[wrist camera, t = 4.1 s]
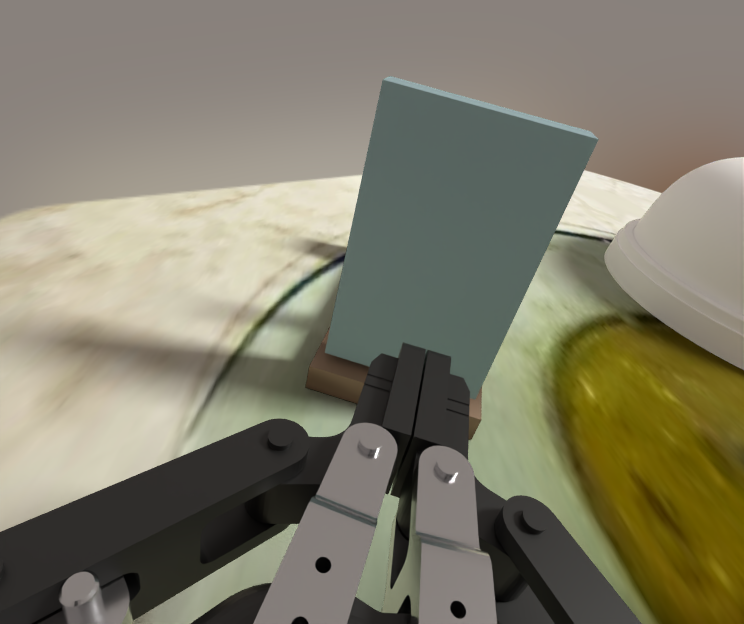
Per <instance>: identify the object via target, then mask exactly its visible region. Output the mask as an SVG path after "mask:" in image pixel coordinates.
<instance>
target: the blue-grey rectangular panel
mask: <svg viewBox="0 0 744 624" xmlns="http://www.w3.org/2000/svg"><path fill="white" fill-rule="evenodd" d="M597 141H598V138H597V137H596V136H595V135H593V134H592V132H590V131H587V130H583V129H580V128H576V127H572V126H569V125H565V124H561V123H558V122H554V121H551V120H547V119H543V118H540V117H536V116H532V115H529V114H525V113H522V112H518V111H514V110H511V109H507V108H504V107H500V106H496V105H493V104H489V103H485V102H482V101H478V100H475V99H471V98H467V97H464V96H460V95H457V94H453V93H449V92H446V91H442V90H439V89H435V88H431V87H427V86H424V85H420V84H417V83H413V82H409V81H406V80H402V79H398V78H395V77H392V76H389V77H387V78H385V79H383V81H382V86H381V91H380V96H379V100H378V105H377V110H376V114H375V119H374V124H373V129H372V133H371V138H370V143H369V147H368V152H367V157H366V162H365V167H364V171H363V175H362V180H361V185H360V189H359V194H358V199H357V203H356V208H355V213H354V218H353V222H352V227H351V232H350V236H349V241H348V246H347V250H346V255H345V260H344V265H343V269H342V274H341V279H340V283H339V288H338V293H337V297H336V302H335V307H334V312H333V316H332V321H331V326H330V330H329V335H328V340H327V344H326V349H325V353H327V354H331V355H334V356H337V357H340V358H343V359H347V360H350V361H353V362H356V363H359V364H363V365H366V366H369V367H370V364H371V361H373V360H374V359H375V358H376V357H378V356H379V355H380V354H381V353H383V354H386V355H390V356H393V357H396V358H398V355H399V352H400V349H401V346H402V343H403V342H404V343H407V344H411V345H414V346H417V347H421V348H424V349H426V352H427V350H431V351H434V352H438V353H441V354H444V355H447V356H451V367H450V374H452V375H456V376H459V377H462V378H464V380H465V382H466V384H467V386H468V388H469V390H470V398H471V399H476V397H477V395H478V393H479V391H480V388H481V386H482V384H483V382H484V380H485V378H486V376H487V374H488V372H489V369H490V367H491V365H492V363H493V361H494V359H495V357H496V355H497V353H498V350H499V348H500V346H501V344H502V342H503V340H504V338H505V336H506V334H507V331H508V329H509V327H510V325H511V323H512V321H513V319H514V317H515V315H516V313H517V310H518V308H519V306H520V304H521V302H522V300H523V298H524V296H525V294H526V291H527V289H528V287H529V285H530V283H531V281H532V279H533V277H534V275H535V272H536V270H537V268H538V266H539V264H540V262H541V260H542V258H543V256H544V253H545V251H546V249H547V247H548V245H549V243H550V241H551V239H552V237H553V234H554V232H555V230H556V228H557V226H558V224H559V222H560V220H561V218H562V215H563V213H564V211H565V209H566V207H567V205H568V203H569V201H570V199H571V196H572V194H573V192H574V190H575V188H576V186H577V184H578V182H579V180H580V177H581V175H582V173H583V171H584V169H585V167H586V165H587V162H588V161H589V158H590V156H591V154H592V152H593V150H594V148H595V146H596V144H597ZM425 354H426V353H425Z"/></svg>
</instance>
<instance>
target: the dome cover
mask: <svg viewBox="0 0 744 624" xmlns="http://www.w3.org/2000/svg"><path fill="white" fill-rule="evenodd" d="M604 260H605V264H606V267H607V269H608V271H609V272H610V274H611V275H612V277H613V278H614V279H615V281H616V282H617V283H618V284H619V285H620V286H621V288H622V289H623V290H624V291H625V292H626V293H627V294H628V295H629V296H630V297H632V298H633V299H634V300H635V301H636V302H637V303H638V304H640V305H641V306H642V307H643V308H645V309H646V310H647V311H648V312H650V313H651V314H652V315H653V316H655V317H656V318H658V319H659V320H660V321H662V322H663V323H665V324H666V325H667V326H669V327H670V328H672V329H673V330H675V331H676V332H678V333H679V334H681V335H682V336H684V337H686V338H687V339H689V340H691V341H692V342H694V343H695V344H697V345H699V346H700V347H702V348H704V349H706V350H707V351H709V352H711V353H713V354H714V355H716V356H718V357H720V358H722V359H724V360H725V361H727V362H729V363H731V364H733V365H735V366H737V367H739V368H741V369H743V370H744V157H740V158H730V159H724V160H719V161H715V162H712V163H709V164H706V165H703V166H701V167H699V168H697V169H694V170H692V171H691V172H689V173H688V174H686V175H684V176H682V177H681V178H680V179H678V180H677V181H676V182H675V183H673V184H672V185H671V186H670V187H669V188H668V189H666V191H664V192H663V193H662V194H661V195H660V196H659V198H658V199H657V200H656V201H655V202H654V203H653V204H652V206H651V207H650V208H649V209H648V211H647V212H646V213H645V214H644V216H643V217H642V218H641V219H636V220H633V221H630V222H629V223H627V224H626V225H625V227H624V228H622V229H621V230H619V231H618V233H617V234H616V236H615V238H614V239H613V241H612V242H611V244H610V245H609V247H608V248H607V250H606V252H605V254H604Z"/></svg>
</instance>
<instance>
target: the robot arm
mask: <svg viewBox="0 0 744 624" xmlns="http://www.w3.org/2000/svg"><path fill="white" fill-rule="evenodd" d="M425 353H426V354H425ZM450 367H451V356H447V355H444V354H441V353H438V352H434V351H431V350H427V352H426V349H424V348H421V347H417V346H414V345H411V344H407V343H404V342H403V343H402V346H401V349H400V352H399V355H398V358H396V357H393V356H390V355H386V354H383V353H381V354H380V355H379V356H378V357H376V358H375V359H374V360H373V361H371V364H370V367H369V370H368V373H367V376H366V379H365V382H364V386H363V388H362V391H361V394H360V398H359V401H358V404H357V407H356V410H355V413H354V416H353V419H352V421H351V424H350V425H349V427H348V428H347V429H346V430H345V431H343V432H342V433H340V434H338V435H335V436H331V437H309V436H308V434H307V432H306V431H305V430H304V428H303V427H302V426H300V425H299V424H297V423H295V422H293V421H291V420H287V419H271V420H268V421H265V422H262V423H260V424H258V425H255V426H253V427H250V428H248V429H246V430H243V431H241V432H238V433H236V434H234V435H231V436H229V437H226V438H224V439H222V440H219V441H217V442H215V443H212V444H210V445H207V446H205V447H203V448H200V449H198V450H195V451H193V452H191V453H188V454H186V455H183V456H181V457H179V458H176V459H174V460H171V461H169V462H167V463H164V464H162V465H160V466H157V467H155V468H152V469H150V470H148V471H145V472H143V473H140V474H138V475H136V476H133V477H131V478H128V479H126V480H124V481H121V482H119V483H116V484H114V485H112V486H109V487H107V488H104V489H102V490H100V491H97V492H95V493H93V494H90V495H88V496H85V497H83V498H81V499H78V500H76V501H73V502H71V503H69V504H66V505H64V506H61V507H59V508H57V509H54V510H52V511H49V512H47V513H45V514H42V515H40V516H38V517H35V518H33V519H30V520H28V521H26V522H23V523H21V524H18V525H16V526H14V527H11V528H9V529H6V530H4V531H2V532H0V624H133V620H135V619H136V618H138V617H140V616H141V615H143V614H145V613H146V612H148V611H150V610H151V609H153V608H155V607H156V606H158V605H160V604H161V603H163V602H165V601H166V600H168V599H170V598H171V597H173V596H175V595H176V594H178V593H180V592H181V591H183V590H185V589H186V588H188V587H190V586H191V585H193V584H195V583H196V582H198V581H200V580H201V579H203V578H205V577H206V576H208V575H210V574H211V573H213V572H215V571H216V570H218V569H220V568H221V567H223V566H225V565H226V564H228V563H230V562H231V561H233V560H235V559H236V558H238V557H240V556H241V555H243V554H245V553H246V552H248V551H250V550H251V549H253V548H255V547H256V546H258V545H260V544H261V543H263V542H265V541H267V540H268V539H270V538H272V537H273V536H275V535H277V534H278V533H280V532H282V531H283V530H284V529H286V528H287V527H288V526H289V525H290V524H299V525H298V528H297V530H296V532H295V534H294V536H293V538H292V541H291V543H290V545H289V547H288V549H287V551H286V554H285V556H284V558H283V560H282V562H281V564H280V567H279V569H278V571H277V573H276V575H275V577H274V580H273V582H272V583H265V584H261V585H256V586H253V587H250V588H247V589H245V590H242V591H240V592H238V593H236V594H234V595H232V596H230V597H229V598H227V599H226V600H224V601H222V602H221V603H220V604H218V605H217V606H215V607H214V608H212V609H211V610H210V611H208V612H207V613H205V614H204V615H202V616H201V617H199V618H198V619H197V620H195V621H194V622H192V623H191V624H641V622H640V621H639V620H638V619H637V617H636V616H635V615H634V614H633V612H632V611H631V610H630V609H629V607H628V606H627V605H626V604H625V602H624V601H623V600H622V599H621V597H620V596H619V595H618V594H617V592H616V591H615V590H614V589H613V587H612V586H611V585H610V584H609V582H608V581H607V580H606V579H605V577H604V576H603V575H602V574H601V572H600V571H599V570H598V569H597V567H596V566H595V565H594V564H593V562H592V561H591V560H590V559H589V557H588V556H587V555H586V554H585V552H584V551H583V550H582V549H581V547H580V546H579V545H578V544H577V542H576V541H575V540H574V539H573V537H572V536H571V535H570V534H569V532H568V531H567V530H566V529H565V527H564V526H563V525H562V524H561V522H560V521H559V520H558V519H557V517H556V516H555V515H554V514H553V512H552V511H551V510H550V509H549V508H548V507H547V506H545V505H544V504H543V503H541V502H540V501H538V500H536V499H534V498H531V497H528V496H522V495H521V496H514V497H511V498H509V499H508V500H507V501H506V500H505V499H503V498H501V497H500V496H498V495H497V494H495V493H493V492H492V491H490V490H489V489H487V488H486V487H485V486H483V485H482V484H481V483H480V482H479V481H478V480H477V479H476V477H475V476H474V471H473V468H472V466H471V464H470V463H469V461H468V438H469V409H470V407H469V405H470V390H469V388H468V386H467V384H466V382H465V380H464V378H462V377H459V376H456V375H452V374H450ZM392 483H393V485H392ZM391 486H392V491H391V495H392V496H396V497H399V498H400V499H399V505H398V510H397V513H396V515H395V518H394V520H393V523H392V529H391V539H390V549H389V560H388V570H387V580H386V590H385V597H384V603H383V607H382V611H381V612H379V611H376V610H375V609H373V608H372V607H370V606H369V605H367V604H366V603H364V602H362V601H361V600H359V599H358V598H356V597H355V595H356V592H357V589H358V585H359V582H360V579H361V575H362V572H363V569H364V566H365V562H366V559H367V556H368V552H369V549H370V546H371V542H372V539H373V536H374V532H375V529H376V525H377V518H378V515H379V511H380V508H381V505H382V501H383V498H384V495H385V493H386V494H388V493H389V491H390V488H391Z"/></svg>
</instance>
